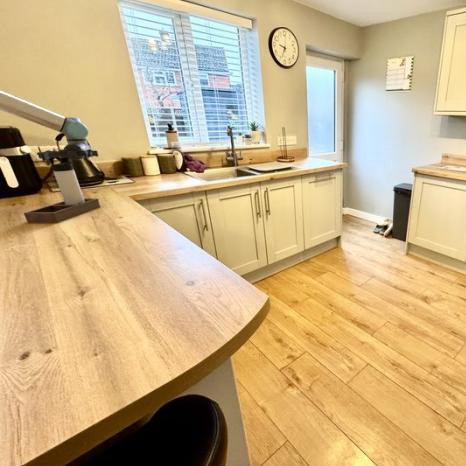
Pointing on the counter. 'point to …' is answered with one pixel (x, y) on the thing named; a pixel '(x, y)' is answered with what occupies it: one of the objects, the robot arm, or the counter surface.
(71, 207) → the tray
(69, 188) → the travel mug
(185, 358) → the counter surface
